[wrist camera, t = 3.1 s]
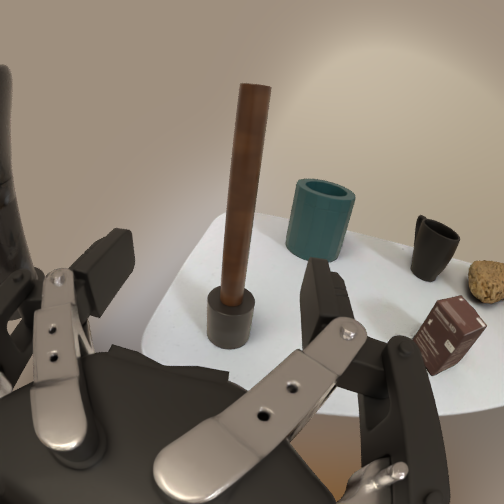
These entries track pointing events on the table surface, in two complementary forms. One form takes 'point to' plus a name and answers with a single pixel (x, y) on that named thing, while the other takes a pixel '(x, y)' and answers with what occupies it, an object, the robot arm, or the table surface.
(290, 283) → the table surface
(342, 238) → the jar
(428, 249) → the mug
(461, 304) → the box
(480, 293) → the sponge
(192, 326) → the table surface
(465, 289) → the table surface
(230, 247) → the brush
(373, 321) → the table surface
